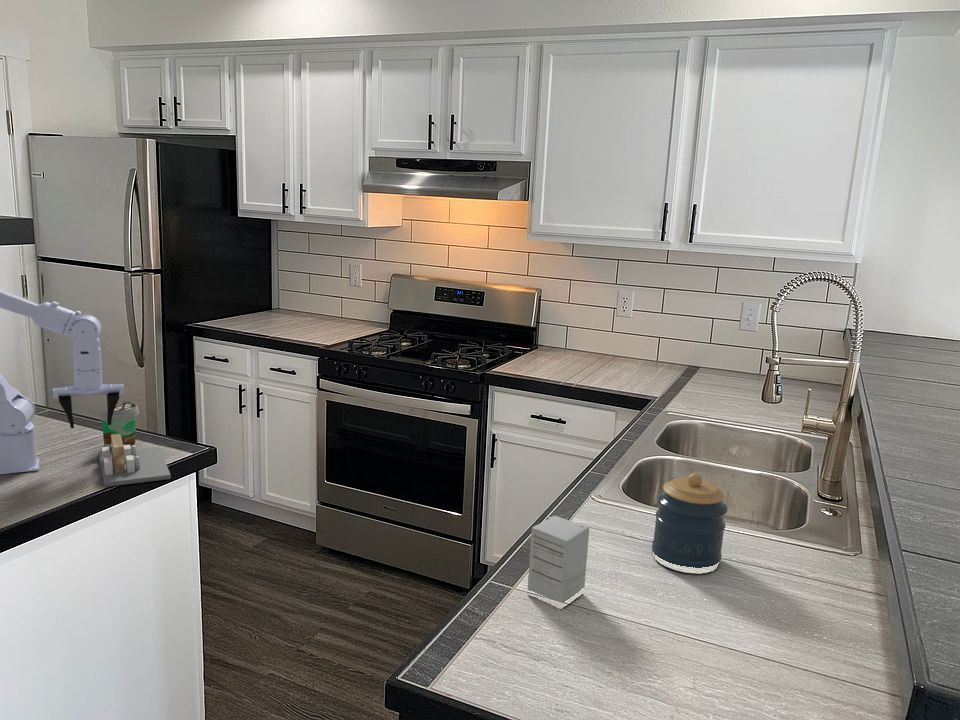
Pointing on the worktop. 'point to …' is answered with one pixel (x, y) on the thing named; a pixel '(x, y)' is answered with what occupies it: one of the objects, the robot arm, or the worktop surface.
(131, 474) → the board
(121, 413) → the food container
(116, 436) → the oak block
